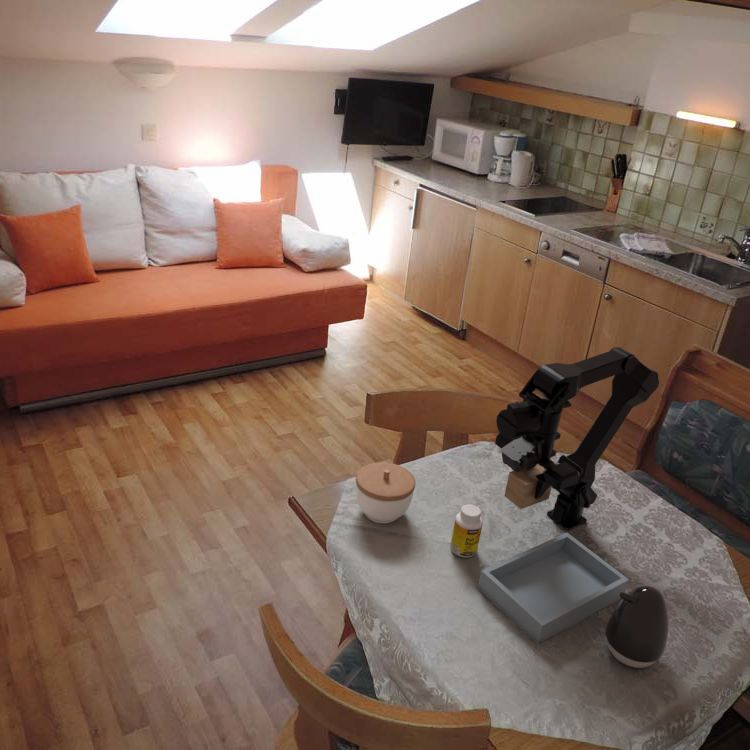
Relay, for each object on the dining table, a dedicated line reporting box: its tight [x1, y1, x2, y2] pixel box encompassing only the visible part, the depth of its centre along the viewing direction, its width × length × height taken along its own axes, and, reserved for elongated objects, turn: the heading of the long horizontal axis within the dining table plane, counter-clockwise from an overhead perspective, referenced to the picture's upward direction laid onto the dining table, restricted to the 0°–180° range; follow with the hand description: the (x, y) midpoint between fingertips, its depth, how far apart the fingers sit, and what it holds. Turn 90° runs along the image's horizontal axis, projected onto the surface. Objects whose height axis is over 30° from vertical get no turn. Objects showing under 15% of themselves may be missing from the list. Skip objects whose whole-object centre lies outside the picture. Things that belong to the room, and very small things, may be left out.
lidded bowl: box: [355, 461, 416, 524], centre depth 162 cm, size 13×13×11 cm
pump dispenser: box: [604, 584, 670, 669], centre depth 131 cm, size 10×10×15 cm
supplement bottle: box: [450, 504, 484, 559], centre depth 153 cm, size 6×6×10 cm
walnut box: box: [504, 465, 553, 510], centre depth 156 cm, size 8×5×6 cm, turn 124°
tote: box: [477, 532, 630, 645], centre depth 146 cm, size 24×16×4 cm, turn 125°
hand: (528, 491), depth 157 cm, fingers closed on walnut box, 5 cm apart
